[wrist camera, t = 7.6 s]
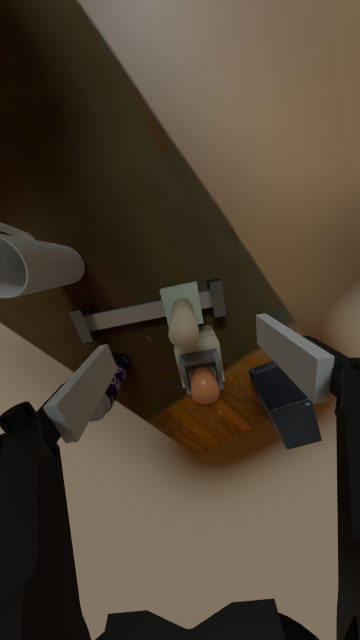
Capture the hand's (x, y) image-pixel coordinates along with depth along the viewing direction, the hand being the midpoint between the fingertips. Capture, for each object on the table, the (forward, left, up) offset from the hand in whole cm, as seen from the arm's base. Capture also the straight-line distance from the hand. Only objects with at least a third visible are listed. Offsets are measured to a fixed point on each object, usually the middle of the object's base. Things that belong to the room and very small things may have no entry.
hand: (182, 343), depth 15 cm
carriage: (0, 0, -17) cm, 17 cm away
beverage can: (+10, -16, -18) cm, 26 cm away
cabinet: (+9, +1, -17) cm, 20 cm away
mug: (-12, -19, -18) cm, 28 cm away
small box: (+22, +15, -18) cm, 32 cm away
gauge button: (+9, +1, -7) cm, 12 cm away
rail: (0, -6, -17) cm, 18 cm away
